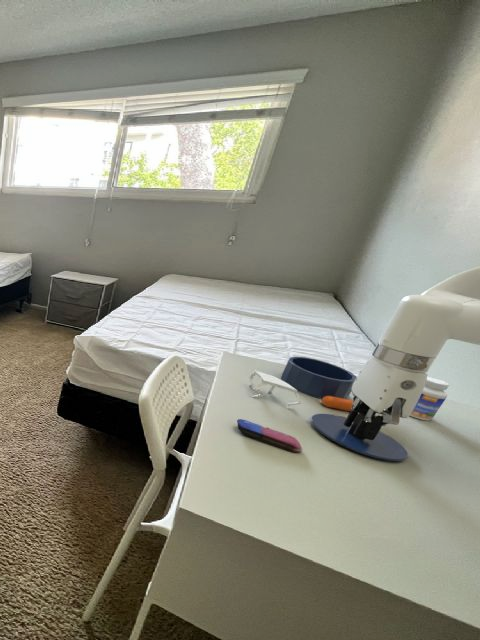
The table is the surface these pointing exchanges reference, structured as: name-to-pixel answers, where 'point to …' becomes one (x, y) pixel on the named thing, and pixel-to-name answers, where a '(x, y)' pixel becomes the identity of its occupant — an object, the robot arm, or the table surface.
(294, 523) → the table surface
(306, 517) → the table surface
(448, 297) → the robot arm
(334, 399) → the carrot
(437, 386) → the pill bottle
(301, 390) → the pot
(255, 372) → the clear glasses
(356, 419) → the pot lid
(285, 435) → the eraser
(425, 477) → the table surface
